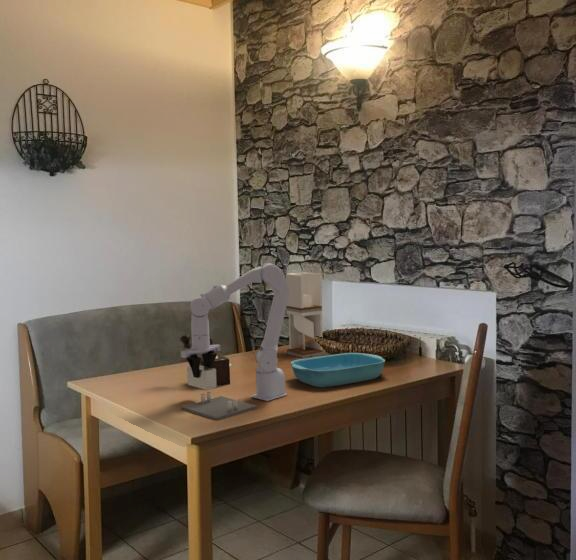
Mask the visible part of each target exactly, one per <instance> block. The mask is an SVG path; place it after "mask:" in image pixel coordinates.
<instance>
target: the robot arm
mask: <svg viewBox="0 0 576 560" xmlns="http://www.w3.org/2000/svg"><path fill="white" fill-rule="evenodd" d="M263 281H264V283H266V284H267V285H268V286H269V288H270V289H271V291H272V292H273V297H272V302H271V306H270V310H269V315H268V319H267V324H266V328H265V333H264V336H263V340H262V342H261V343H260V347H259V349H258V351H256V353H255V358H254V359H255V361H256V363H257V364H258V365H257V367H256V368H255V385H256V386H255V390H256V392H255V393H254V394H252V395H250V397H251V398H254V399H258V400H261V401H266V402H269V401H272V400H276V399H278V398H281V397H286V396H288V393H286V376H285V373H284V371H283V370H282V368H279V367H278V364H279V360H278V351H279V350H278V349H279V348H278V347H279V346H278V345H279V340H280V336H281V331H282V326H283V323H284V319H285V314H286V311H287V309H286V306H287V302H288V298H289V293H290V290H289V287H288V284H287V282H286V274H285V273H284V272H283V270H282V269H281V268H280V267H279V266H278V265H276V264H274V263H272V262H266V263H263V264H262V265H261V266H256V267H255V268H252V269H250V270H248V271H247V272H245V273H244V274H242V275H241V276H239V277H237V278H236V279H234V280H232V281H231V282H229V283H228V284H227V285H224V284H218V285H217V284H214V285H212V288H211V289H210V290H208V291H206V292H202V293H200V294H199V295H200V296H197V297H194V298H193V299H192V300H191V302H190V305H189V308H190V311H191V315H190V317H191V318H190V319H191V321H190V327H191V328H190V330H191V331H190V332H191V346H190V347H191V348H190V349H187V348H186V349H185V350H181V351H180V358H183V359H185V360H186V361H187V363H188V364H189V365H188V366H190V367H191V370H192V373H193V376H194V377H195V378H199V367H200V360H201V358H200V357H198V356H200V355H202V357H203V362H204V366H205V367H210V368H212V365H213V362H214V360H215V358H216V356H217V352H220V351H221V344H212V345H210V338H211V337H210V320H209V314H208V313H209V312H210V310H214V309H216V308H217V307H219V306H221V305H222V304H224V303H225V302H228V301H229V300H230V298H231V295H232V294H233V293H236V292H238V291H239V290H241V289H243V288H245V287H247V286H249V285H251V284H253V283H255V284H256V283H257V284H262V283H263Z"/></svg>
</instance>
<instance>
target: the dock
mask: <svg viewBox="0 0 576 560" xmlns="http://www.w3.org/2000/svg"><path fill="white" fill-rule="evenodd" d="M211 393H212V392H211V391H207V392H206V394H205V393H201V394H200V401H198V402H195V403H191V404H188V405H183V406H181V410H182V411H187V412H189V413H192V414H196V415H199V416H202V417H205V418H208V419H211V418H212V419H211V420H214V419H215V421H219V420H222V419H225V418H229V417H232V415H233V416H235V415H236V416H237V415H239V414H242V413H245V411H246V412H248V411H252V410H255V409H257V408H258V406H257V405H256V404H252V403H248V402H245V401H240V400H239V399H237V398H235V399H234V398H229V397H226V396H222V395H221V396H217V397H213V398H212V394H211ZM206 398H207V399H206Z"/></svg>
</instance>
